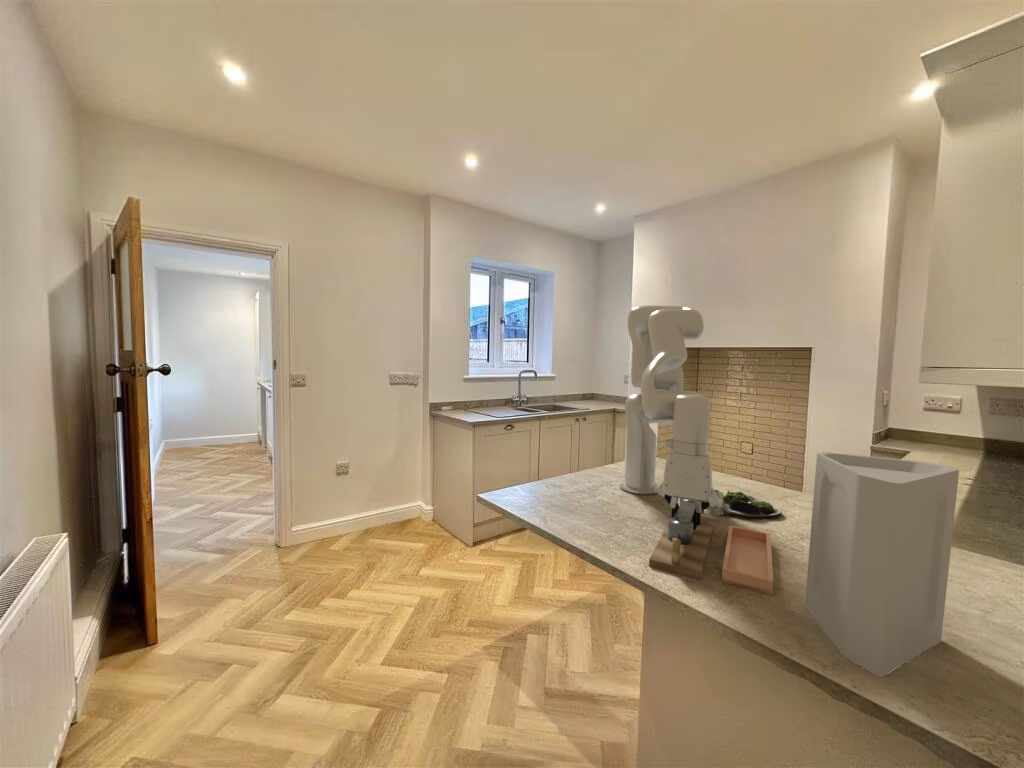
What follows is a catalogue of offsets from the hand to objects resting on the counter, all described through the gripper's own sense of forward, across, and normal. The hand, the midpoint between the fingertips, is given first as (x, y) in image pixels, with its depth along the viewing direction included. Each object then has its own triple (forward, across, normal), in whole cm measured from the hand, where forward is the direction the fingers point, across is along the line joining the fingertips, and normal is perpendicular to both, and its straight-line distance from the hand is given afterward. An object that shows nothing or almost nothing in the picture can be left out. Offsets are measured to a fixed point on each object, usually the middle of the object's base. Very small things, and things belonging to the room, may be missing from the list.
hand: (685, 524), depth 97 cm
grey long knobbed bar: (0, 0, 0) cm, 0 cm away
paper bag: (+6, +29, -16) cm, 33 cm away
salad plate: (+6, +11, +35) cm, 37 cm away
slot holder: (+5, +13, 0) cm, 14 cm away
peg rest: (+5, 0, 0) cm, 5 cm away
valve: (+5, +2, +23) cm, 24 cm away
